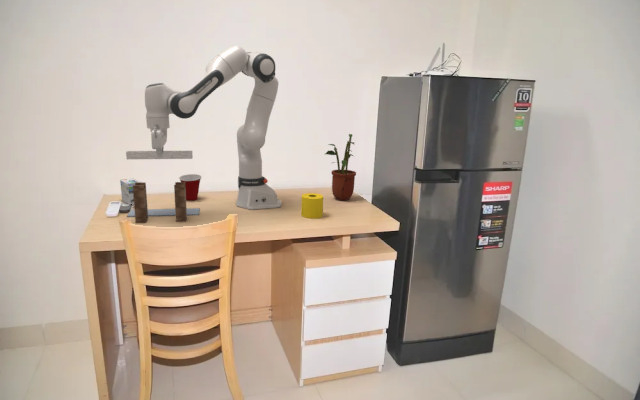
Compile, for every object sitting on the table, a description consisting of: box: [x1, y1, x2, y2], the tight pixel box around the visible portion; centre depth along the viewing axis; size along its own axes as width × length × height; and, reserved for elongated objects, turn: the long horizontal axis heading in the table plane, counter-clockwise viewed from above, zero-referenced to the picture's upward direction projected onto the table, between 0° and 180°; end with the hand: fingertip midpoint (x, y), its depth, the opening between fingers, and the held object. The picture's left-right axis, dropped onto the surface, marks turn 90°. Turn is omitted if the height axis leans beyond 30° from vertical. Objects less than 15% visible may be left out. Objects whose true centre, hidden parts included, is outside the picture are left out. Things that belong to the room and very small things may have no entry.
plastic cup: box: [178, 173, 202, 202], centre depth 210 cm, size 11×11×12 cm
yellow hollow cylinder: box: [300, 192, 324, 220], centre depth 194 cm, size 10×10×9 cm
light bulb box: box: [119, 177, 141, 206], centre depth 201 cm, size 11×7×11 cm, turn 44°
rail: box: [125, 150, 193, 160], centre depth 177 cm, size 26×3×3 cm, turn 104°
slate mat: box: [126, 207, 201, 218], centre depth 189 cm, size 30×9×1 cm, turn 103°
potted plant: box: [324, 133, 357, 201], centre depth 219 cm, size 17×16×35 cm
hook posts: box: [133, 181, 188, 224], centre depth 177 cm, size 20×6×16 cm, turn 103°
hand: (160, 156), depth 177 cm, fingers closed on rail, 3 cm apart
